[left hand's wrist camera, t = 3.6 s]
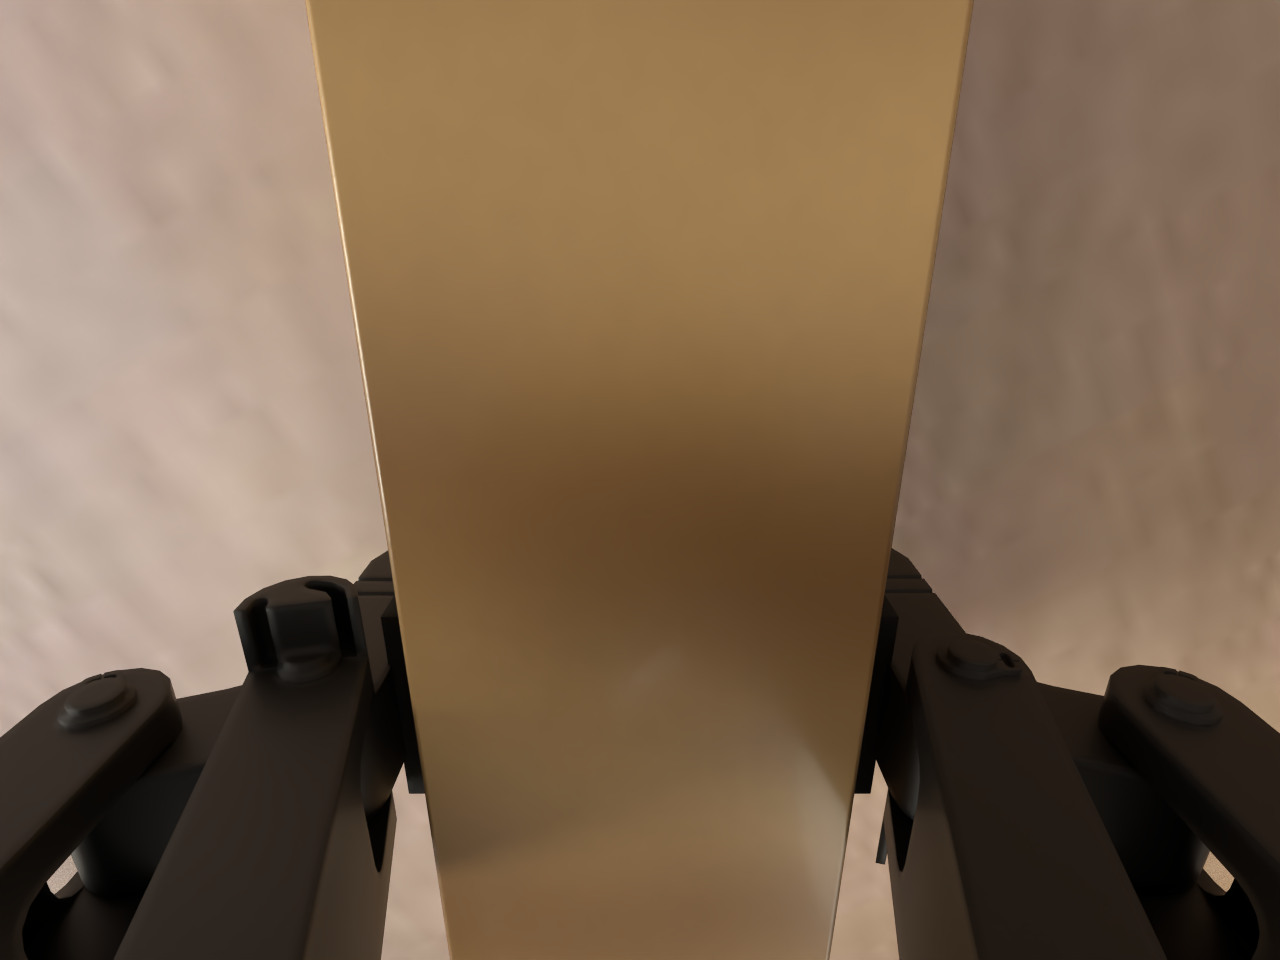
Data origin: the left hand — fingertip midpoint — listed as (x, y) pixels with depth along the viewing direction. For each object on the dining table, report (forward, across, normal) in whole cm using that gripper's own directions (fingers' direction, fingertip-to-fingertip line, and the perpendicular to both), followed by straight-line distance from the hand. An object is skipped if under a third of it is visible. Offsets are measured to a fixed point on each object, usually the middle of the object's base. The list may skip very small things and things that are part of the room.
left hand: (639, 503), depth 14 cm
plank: (+1, 0, -22) cm, 22 cm away
